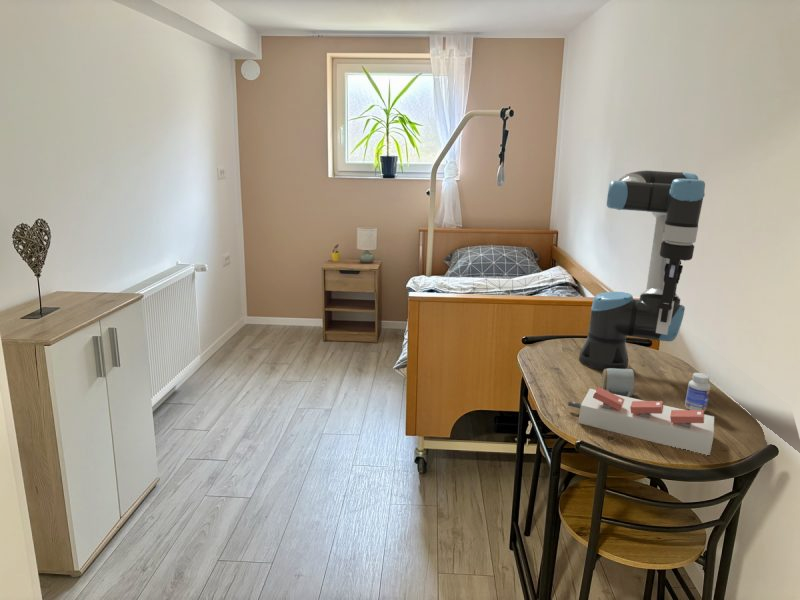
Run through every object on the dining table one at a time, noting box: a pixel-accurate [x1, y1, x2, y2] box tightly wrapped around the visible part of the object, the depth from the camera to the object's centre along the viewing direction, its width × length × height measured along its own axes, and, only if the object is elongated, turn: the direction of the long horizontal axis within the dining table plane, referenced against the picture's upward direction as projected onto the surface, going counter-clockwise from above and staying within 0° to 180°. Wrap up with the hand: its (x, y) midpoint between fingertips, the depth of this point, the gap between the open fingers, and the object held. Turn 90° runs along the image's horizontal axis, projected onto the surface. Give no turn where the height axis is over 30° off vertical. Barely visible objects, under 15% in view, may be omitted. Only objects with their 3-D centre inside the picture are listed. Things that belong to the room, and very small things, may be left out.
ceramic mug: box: [601, 368, 635, 398], centre depth 166 cm, size 11×8×8 cm
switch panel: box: [567, 388, 715, 456], centre depth 148 cm, size 12×34×6 cm, turn 62°
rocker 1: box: [593, 386, 625, 411], centre depth 148 cm, size 4×7×2 cm, turn 62°
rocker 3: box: [670, 409, 705, 423], centre depth 140 cm, size 4×7×2 cm, turn 62°
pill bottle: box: [684, 372, 712, 412], centre depth 160 cm, size 5×5×10 cm
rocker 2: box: [630, 400, 664, 414], centre depth 144 cm, size 4×7×2 cm, turn 62°
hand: (663, 328), depth 152 cm, fingers open, 9 cm apart
